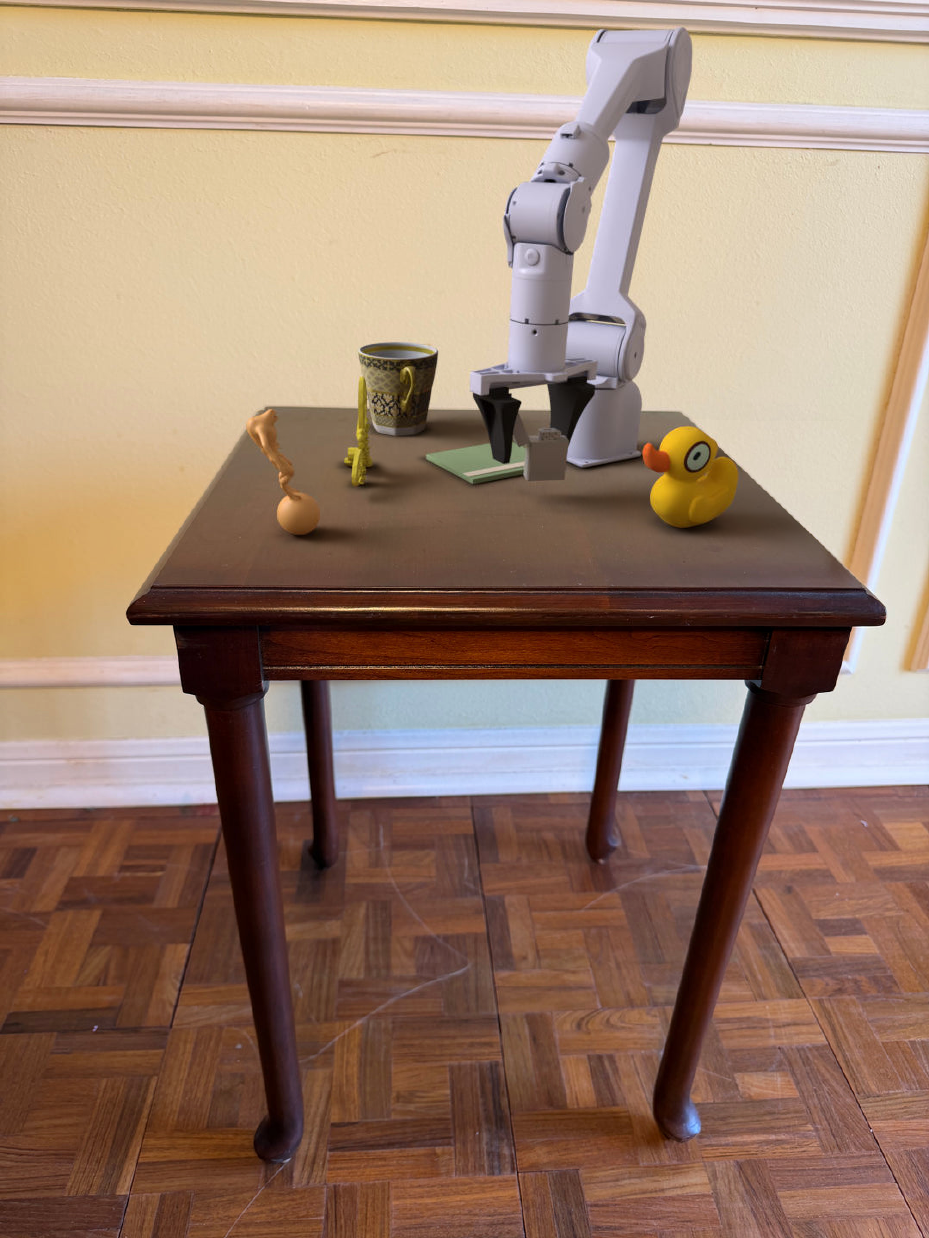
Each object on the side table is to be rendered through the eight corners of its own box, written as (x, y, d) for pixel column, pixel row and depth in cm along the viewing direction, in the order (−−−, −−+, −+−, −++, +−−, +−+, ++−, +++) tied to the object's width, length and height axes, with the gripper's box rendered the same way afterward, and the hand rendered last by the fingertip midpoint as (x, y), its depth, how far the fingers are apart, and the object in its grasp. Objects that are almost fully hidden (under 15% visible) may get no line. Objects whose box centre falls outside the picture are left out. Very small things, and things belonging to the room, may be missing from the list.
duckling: (650, 543, 84) (664, 441, 79) (618, 523, 88) (630, 425, 83) (743, 526, 88) (762, 429, 83) (709, 508, 92) (725, 414, 88)
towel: (507, 444, 110) (508, 439, 110) (558, 467, 103) (558, 461, 102) (425, 459, 104) (425, 453, 104) (472, 484, 97) (473, 478, 96)
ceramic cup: (353, 420, 118) (351, 343, 113) (425, 415, 120) (426, 340, 116) (374, 449, 107) (372, 365, 102) (453, 444, 109) (455, 362, 105)
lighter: (560, 473, 94) (568, 400, 90) (564, 479, 93) (573, 406, 88) (495, 475, 93) (501, 401, 89) (499, 482, 92) (504, 407, 87)
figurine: (327, 549, 80) (320, 420, 75) (260, 554, 79) (247, 423, 73) (315, 515, 87) (308, 395, 82) (253, 520, 86) (242, 398, 80)
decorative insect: (370, 524, 99) (362, 481, 90) (341, 524, 99) (330, 480, 90) (377, 425, 103) (369, 374, 94) (349, 424, 103) (339, 373, 94)
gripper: (502, 333, 79) (495, 477, 85) (622, 321, 86) (608, 455, 92) (459, 320, 84) (455, 457, 90) (576, 310, 91) (565, 438, 98)
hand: (530, 455), depth 92 cm, fingers closed on lighter, 7 cm apart
